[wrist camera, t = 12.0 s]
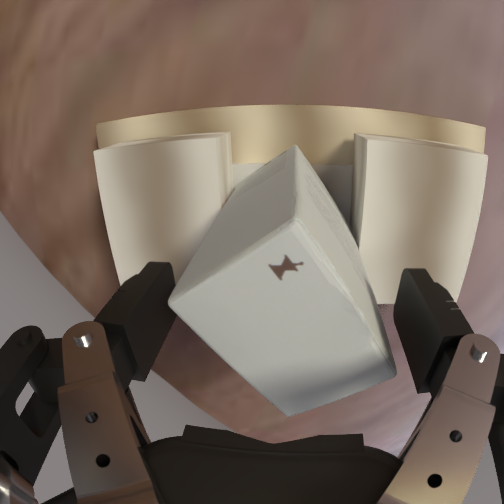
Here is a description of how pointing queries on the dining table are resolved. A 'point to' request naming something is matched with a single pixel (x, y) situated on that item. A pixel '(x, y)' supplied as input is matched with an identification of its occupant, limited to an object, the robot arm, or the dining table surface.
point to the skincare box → (286, 291)
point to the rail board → (324, 164)
